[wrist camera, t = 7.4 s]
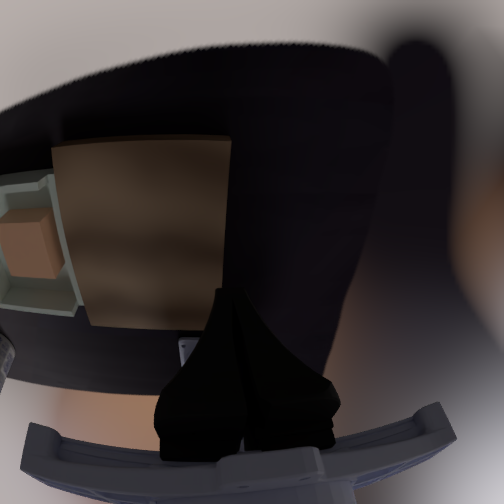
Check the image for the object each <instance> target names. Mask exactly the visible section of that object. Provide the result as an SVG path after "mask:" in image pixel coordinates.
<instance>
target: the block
mask: <svg viewBox="0 0 504 504" xmlns="http://www.w3.org/2000/svg"><path fill="white" fill-rule="evenodd" d="M0 245H1V248H2V251H3V254H4V257H5V260H6V263H7V265H8V268H9V271H10V274H11V276H17V277H32V278H48V279H56V277H57V275H58V274H59V272H60V270H61V269H62V267H63V265H64V264H65V259H64V255H63V251H62V247H61V243H60V239H59V235H58V231H57V226H56V221H55V216H54V211H53V207H48V208H28V209H12V210H9V211H7V212H6V213H5V214H4V215H3V216H2V217H1V218H0Z"/></svg>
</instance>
